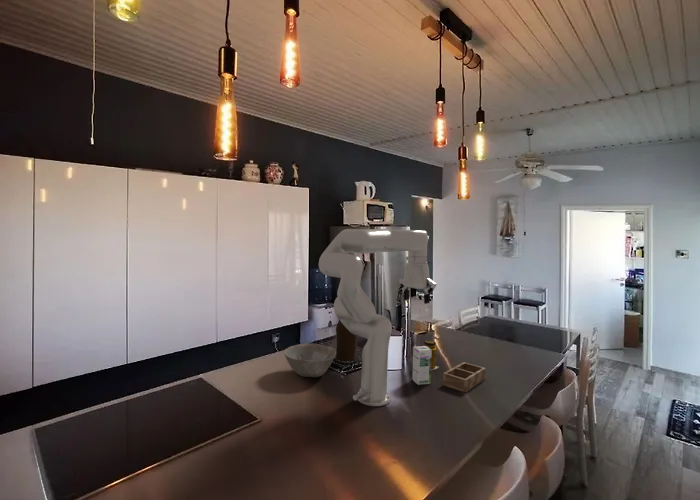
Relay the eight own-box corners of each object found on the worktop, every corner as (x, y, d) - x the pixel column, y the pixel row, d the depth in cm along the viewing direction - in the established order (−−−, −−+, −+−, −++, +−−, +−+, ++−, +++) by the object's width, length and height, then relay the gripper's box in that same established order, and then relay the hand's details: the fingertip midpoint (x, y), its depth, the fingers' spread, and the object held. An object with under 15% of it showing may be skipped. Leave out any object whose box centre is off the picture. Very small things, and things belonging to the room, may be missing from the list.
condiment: (439, 367, 176) (440, 342, 175) (428, 371, 170) (429, 345, 169) (426, 363, 181) (427, 338, 180) (415, 367, 175) (416, 341, 174)
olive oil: (360, 358, 184) (361, 307, 183) (352, 365, 174) (354, 312, 173) (339, 355, 188) (341, 305, 186) (331, 362, 178) (332, 309, 176)
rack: (465, 392, 149) (466, 380, 148) (442, 385, 155) (443, 373, 155) (485, 379, 163) (485, 368, 163) (463, 373, 170) (463, 362, 169)
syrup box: (418, 385, 155) (419, 350, 154) (411, 379, 160) (413, 345, 159) (430, 384, 156) (432, 349, 155) (424, 378, 162) (425, 345, 161)
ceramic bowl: (311, 390, 147) (312, 364, 146) (271, 374, 161) (272, 351, 160) (346, 373, 164) (347, 351, 164) (308, 361, 178) (308, 340, 178)
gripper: (394, 259, 159) (393, 299, 160) (431, 262, 147) (430, 306, 149) (404, 258, 164) (403, 297, 166) (441, 261, 153) (439, 303, 154)
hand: (416, 301), depth 157 cm, fingers open, 9 cm apart
